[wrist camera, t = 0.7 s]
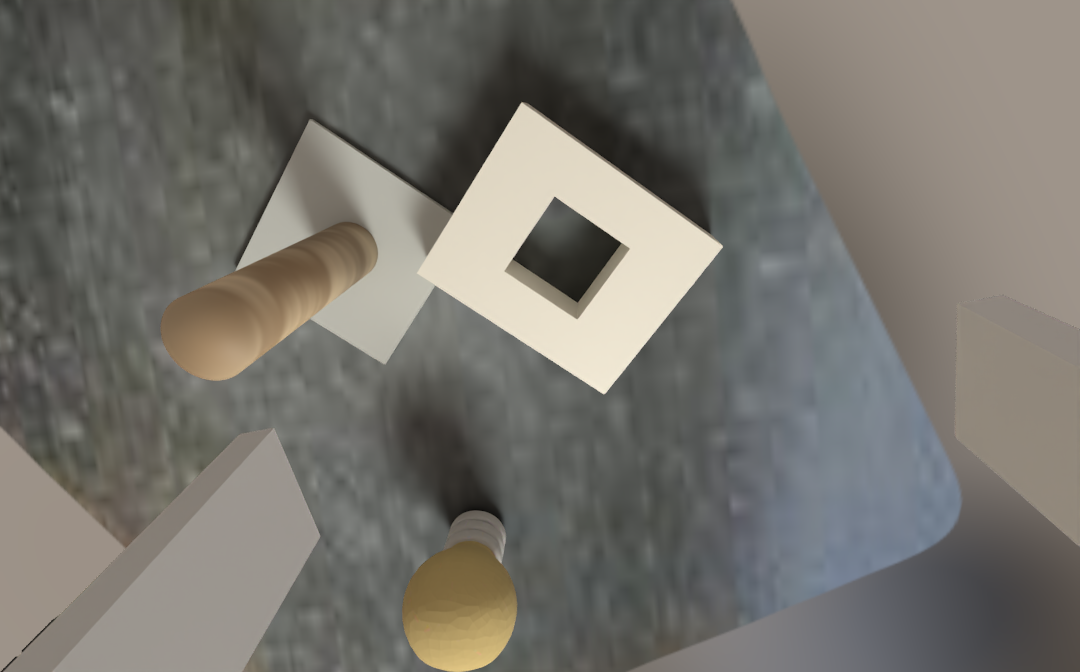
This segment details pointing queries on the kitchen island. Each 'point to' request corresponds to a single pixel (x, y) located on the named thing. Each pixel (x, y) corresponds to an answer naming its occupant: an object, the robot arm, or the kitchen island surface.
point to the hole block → (530, 302)
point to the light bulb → (462, 598)
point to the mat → (372, 202)
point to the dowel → (264, 301)
